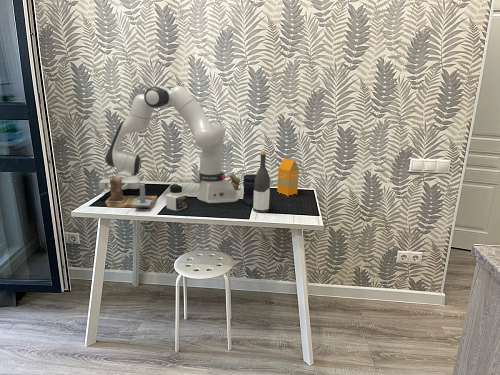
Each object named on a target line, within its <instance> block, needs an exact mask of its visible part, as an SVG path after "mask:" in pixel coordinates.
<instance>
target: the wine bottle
mask: <svg viewBox="0 0 500 375" xmlns="http://www.w3.org/2000/svg"><path fill="white" fill-rule="evenodd" d="M266 159H267V158H266V151H265V150H261V152H260V165H259V166H260V167H259V168H258V170H257V172H256V177H255V180H254V203H253V207H252V209H253V210H252V211H253V212H255V213H256V214H257V213H259V214H265V213H268V212H269V210H270V195H271V194H270V190H271V189H270V188H271V178H270V175H269V171H268V170H267V167H266Z"/></svg>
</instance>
